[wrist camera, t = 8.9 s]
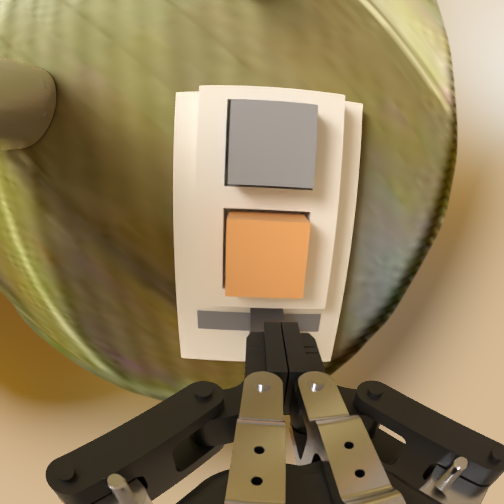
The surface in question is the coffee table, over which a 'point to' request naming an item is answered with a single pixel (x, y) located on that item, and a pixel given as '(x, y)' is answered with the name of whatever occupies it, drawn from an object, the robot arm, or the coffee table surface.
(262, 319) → the dark grey block
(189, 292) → the control panel
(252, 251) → the orange button
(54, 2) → the coffee table surface
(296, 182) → the grey button
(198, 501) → the robot arm
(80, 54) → the coffee table surface
